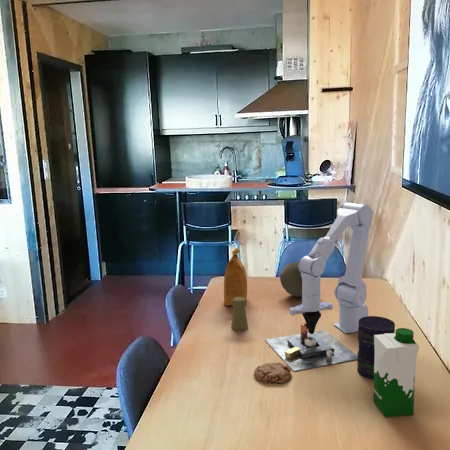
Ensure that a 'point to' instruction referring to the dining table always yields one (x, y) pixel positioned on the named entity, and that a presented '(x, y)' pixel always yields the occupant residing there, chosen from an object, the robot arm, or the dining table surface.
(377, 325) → the storage jar
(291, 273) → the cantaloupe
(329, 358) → the dowel pin
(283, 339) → the post base
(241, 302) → the olive green shaker
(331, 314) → the dining table surface
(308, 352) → the metal parts fixture
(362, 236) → the robot arm
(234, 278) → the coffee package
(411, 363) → the milk carton
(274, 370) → the cookie
